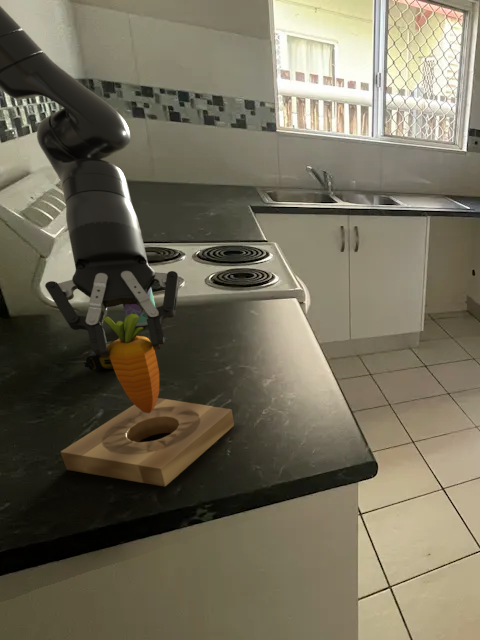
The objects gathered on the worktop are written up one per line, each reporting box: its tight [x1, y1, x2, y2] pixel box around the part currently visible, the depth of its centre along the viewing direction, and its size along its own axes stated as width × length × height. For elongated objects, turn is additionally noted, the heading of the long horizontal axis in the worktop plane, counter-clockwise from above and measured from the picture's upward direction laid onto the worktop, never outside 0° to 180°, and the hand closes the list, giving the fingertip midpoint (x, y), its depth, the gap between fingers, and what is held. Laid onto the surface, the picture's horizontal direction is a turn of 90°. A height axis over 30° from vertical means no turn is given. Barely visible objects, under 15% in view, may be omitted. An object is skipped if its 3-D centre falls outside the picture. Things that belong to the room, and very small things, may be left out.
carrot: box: [103, 314, 160, 413], centre depth 63 cm, size 5×5×15 cm
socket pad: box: [60, 397, 235, 487], centre depth 68 cm, size 14×14×3 cm
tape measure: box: [83, 339, 117, 371], centre depth 86 cm, size 7×7×4 cm
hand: (131, 350), depth 60 cm, fingers closed on carrot, 4 cm apart
